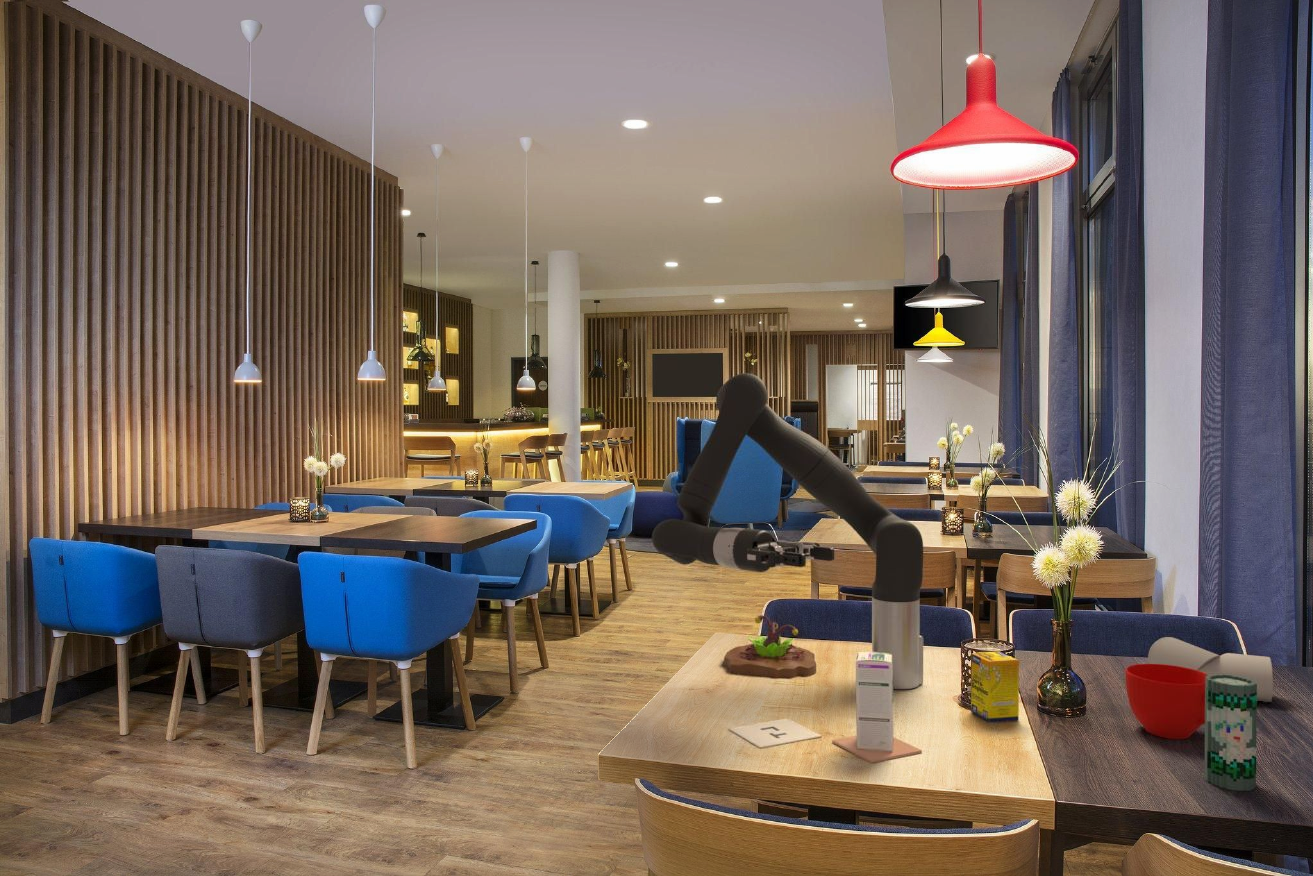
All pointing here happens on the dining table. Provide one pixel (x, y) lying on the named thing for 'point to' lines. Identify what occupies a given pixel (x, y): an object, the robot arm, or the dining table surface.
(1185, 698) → the ceramic cup
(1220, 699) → the can
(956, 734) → the dining table surface
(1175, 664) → the elbow connector
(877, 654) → the syrup box
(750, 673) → the plant
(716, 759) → the dining table surface
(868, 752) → the coaster
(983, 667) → the supplement box
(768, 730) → the white square plate
